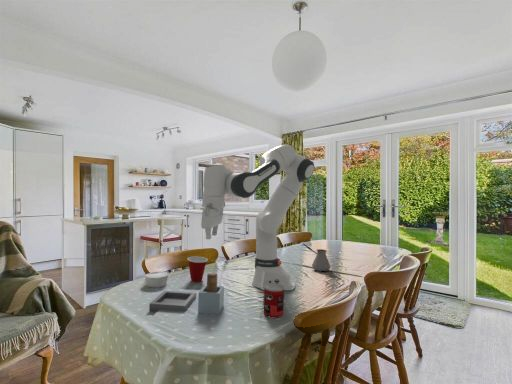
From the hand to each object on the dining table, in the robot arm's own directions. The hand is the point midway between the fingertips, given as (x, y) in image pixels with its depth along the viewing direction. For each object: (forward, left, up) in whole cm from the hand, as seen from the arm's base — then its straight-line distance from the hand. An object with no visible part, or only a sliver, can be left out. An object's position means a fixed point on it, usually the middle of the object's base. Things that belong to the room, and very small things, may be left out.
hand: (211, 237), depth 115 cm
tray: (+16, -3, -30) cm, 34 cm away
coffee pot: (-51, -73, -30) cm, 94 cm away
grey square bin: (-1, +1, -30) cm, 30 cm away
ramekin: (+34, -26, -30) cm, 52 cm away
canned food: (-26, -1, -30) cm, 40 cm away
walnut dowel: (-1, +1, -29) cm, 29 cm away
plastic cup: (+16, -36, -30) cm, 50 cm away
